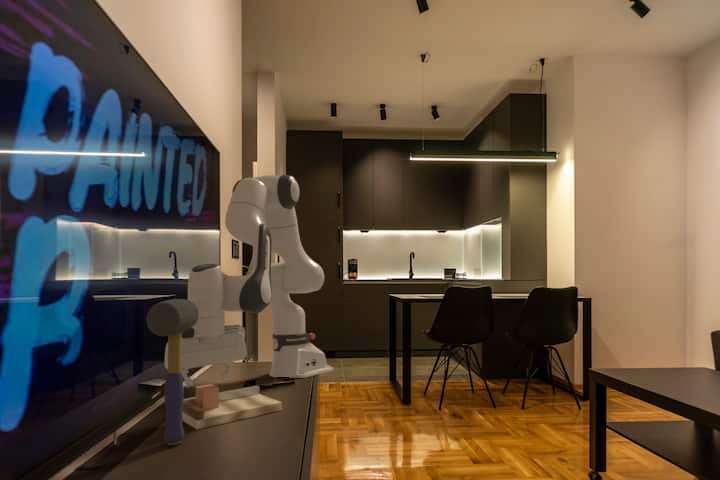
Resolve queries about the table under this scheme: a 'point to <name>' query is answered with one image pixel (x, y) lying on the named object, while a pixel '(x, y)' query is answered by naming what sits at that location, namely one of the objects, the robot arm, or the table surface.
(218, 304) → the robot arm
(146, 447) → the table surface
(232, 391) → the steel straightedge
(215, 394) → the block
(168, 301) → the rubber mallet
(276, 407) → the birch board
